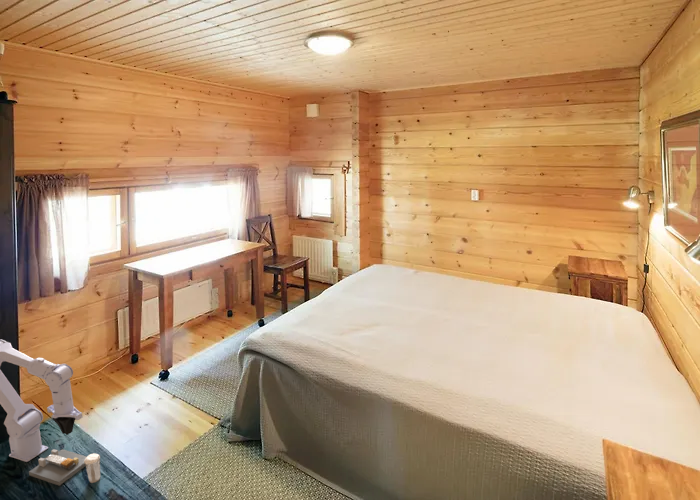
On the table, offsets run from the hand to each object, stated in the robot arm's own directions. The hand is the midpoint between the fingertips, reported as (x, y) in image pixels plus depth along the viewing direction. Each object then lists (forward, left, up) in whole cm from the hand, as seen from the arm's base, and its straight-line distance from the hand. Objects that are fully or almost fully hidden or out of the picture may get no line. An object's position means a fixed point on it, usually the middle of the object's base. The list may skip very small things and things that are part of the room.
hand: (67, 432), depth 150 cm
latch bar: (+2, -6, -7) cm, 9 cm away
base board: (+3, -6, -9) cm, 12 cm away
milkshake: (+19, -6, -10) cm, 22 cm away
